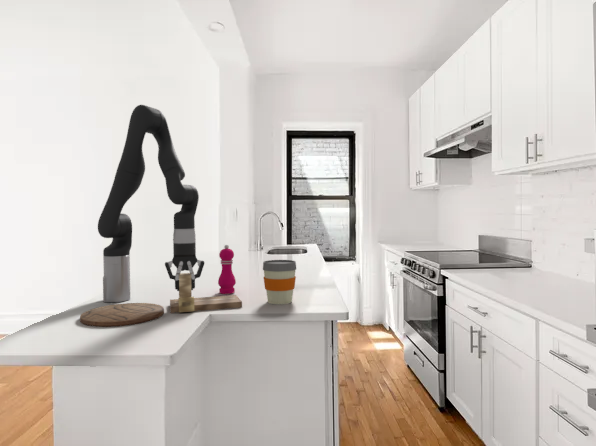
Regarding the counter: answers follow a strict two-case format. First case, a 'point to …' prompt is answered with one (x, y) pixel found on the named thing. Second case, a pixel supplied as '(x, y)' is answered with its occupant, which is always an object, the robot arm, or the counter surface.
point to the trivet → (121, 314)
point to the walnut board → (210, 303)
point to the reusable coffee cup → (279, 280)
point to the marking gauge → (185, 293)
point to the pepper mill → (226, 272)
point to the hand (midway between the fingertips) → (185, 290)
